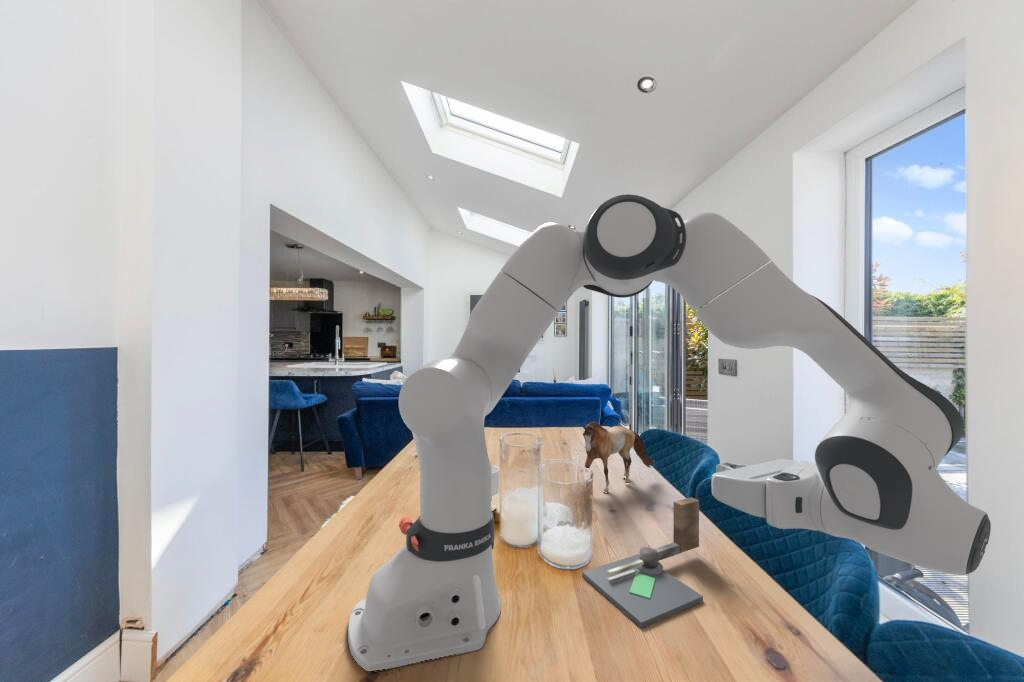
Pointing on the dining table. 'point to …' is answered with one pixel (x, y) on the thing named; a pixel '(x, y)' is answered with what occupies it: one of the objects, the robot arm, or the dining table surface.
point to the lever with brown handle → (682, 537)
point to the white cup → (495, 480)
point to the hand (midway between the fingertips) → (722, 467)
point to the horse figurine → (613, 447)
